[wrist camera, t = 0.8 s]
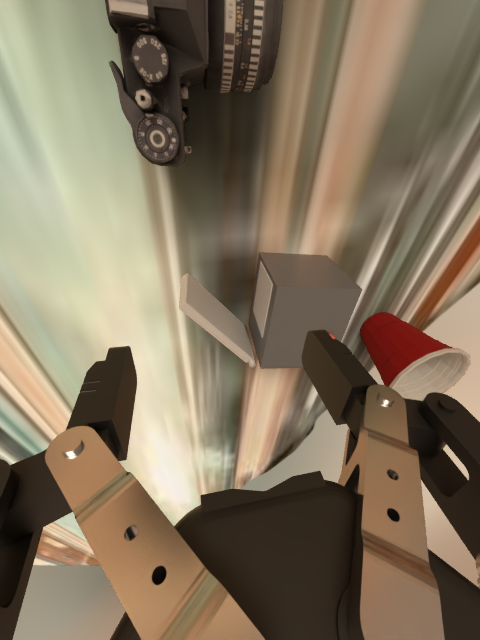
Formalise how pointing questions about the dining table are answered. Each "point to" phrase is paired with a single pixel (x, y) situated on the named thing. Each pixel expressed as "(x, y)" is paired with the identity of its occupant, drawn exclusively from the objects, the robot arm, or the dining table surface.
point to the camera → (187, 61)
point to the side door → (215, 318)
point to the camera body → (297, 305)
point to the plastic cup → (411, 357)
